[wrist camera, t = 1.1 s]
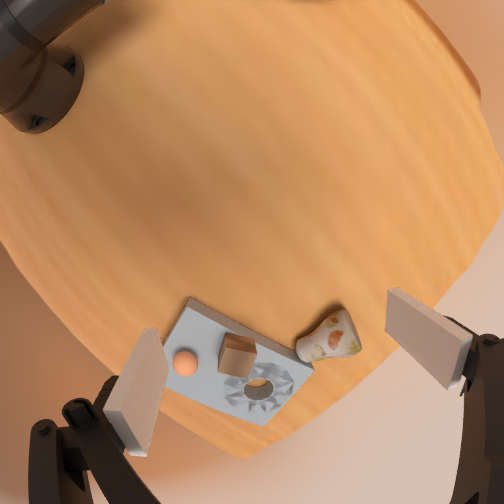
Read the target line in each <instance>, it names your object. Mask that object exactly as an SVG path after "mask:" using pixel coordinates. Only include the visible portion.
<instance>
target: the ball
mask: <svg viewBox="0 0 504 504" xmlns="http://www.w3.org/2000/svg"><path fill="white" fill-rule="evenodd" d="M172 365H173V369H174V370H175V372H176V373H177V374H179V375H181V376H191V375H193V374H194V373H195V372H196V370H197V368H198V361H197V358H196V357H195V356H194V355H193V354H192V353H190V352H187V351H182V352H179V353H177V354H176V355H175V356H174V358H173V361H172Z"/></svg>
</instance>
